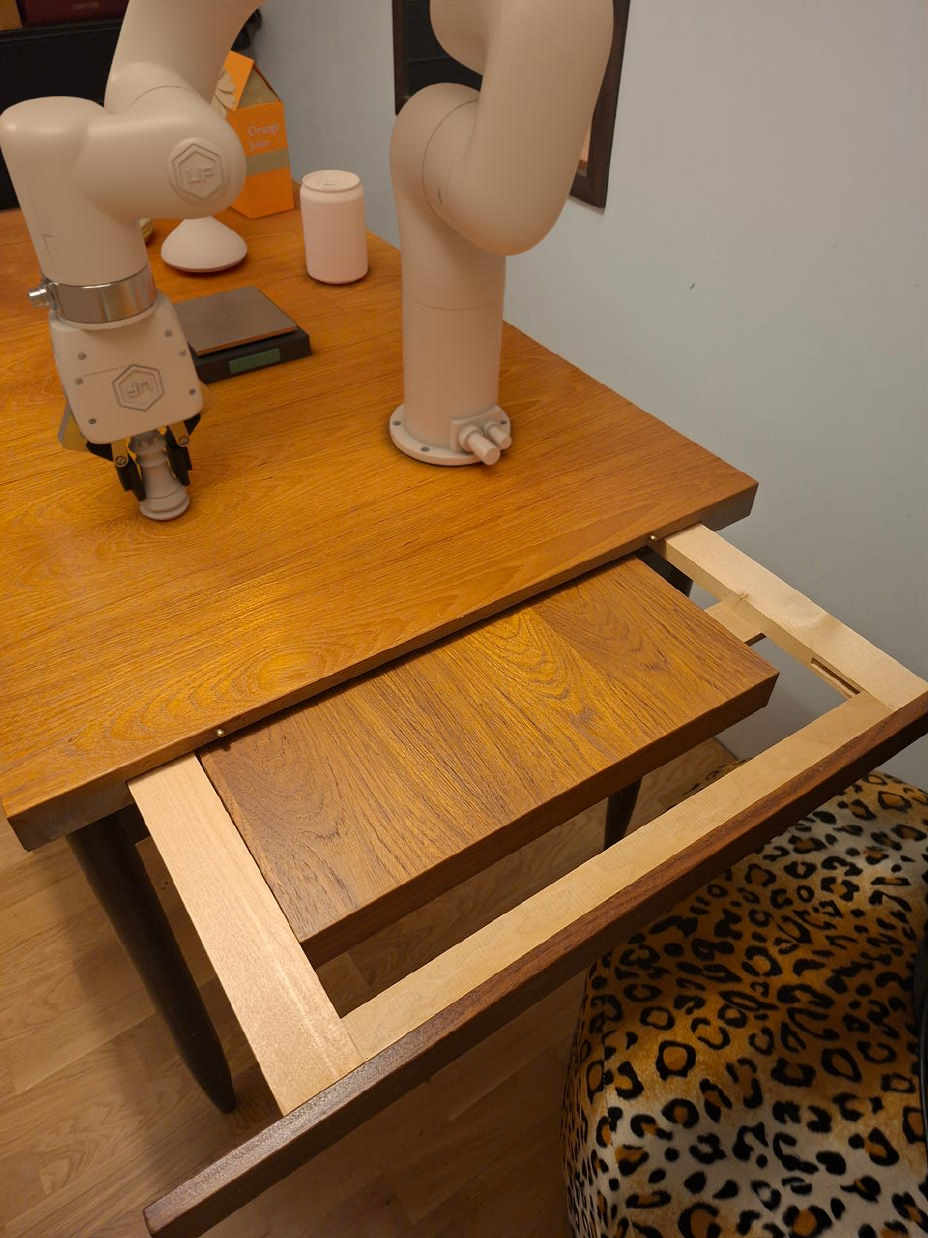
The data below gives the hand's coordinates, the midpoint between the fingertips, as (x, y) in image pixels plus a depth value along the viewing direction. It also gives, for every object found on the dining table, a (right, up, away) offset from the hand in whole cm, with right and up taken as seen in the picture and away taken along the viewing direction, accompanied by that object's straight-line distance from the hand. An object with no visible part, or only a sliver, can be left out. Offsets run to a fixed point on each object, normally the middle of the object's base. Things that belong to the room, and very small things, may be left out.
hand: (159, 484), depth 78 cm
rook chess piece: (0, -2, +2) cm, 3 cm away
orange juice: (-4, +51, +55) cm, 76 cm away
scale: (0, +20, +24) cm, 32 cm away
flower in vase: (-7, +37, +40) cm, 55 cm away
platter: (0, +22, +22) cm, 31 cm away
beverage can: (+11, +34, +39) cm, 53 cm away
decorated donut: (-22, +41, +44) cm, 64 cm away
